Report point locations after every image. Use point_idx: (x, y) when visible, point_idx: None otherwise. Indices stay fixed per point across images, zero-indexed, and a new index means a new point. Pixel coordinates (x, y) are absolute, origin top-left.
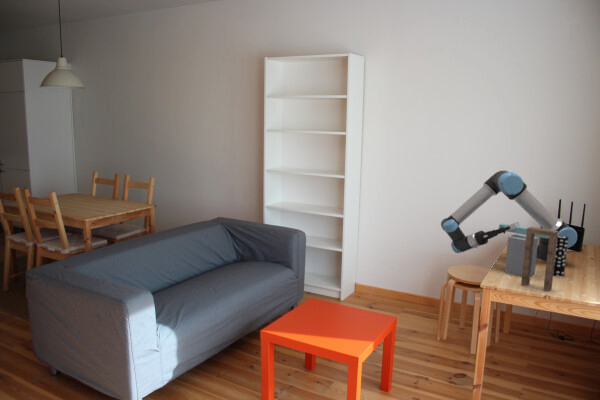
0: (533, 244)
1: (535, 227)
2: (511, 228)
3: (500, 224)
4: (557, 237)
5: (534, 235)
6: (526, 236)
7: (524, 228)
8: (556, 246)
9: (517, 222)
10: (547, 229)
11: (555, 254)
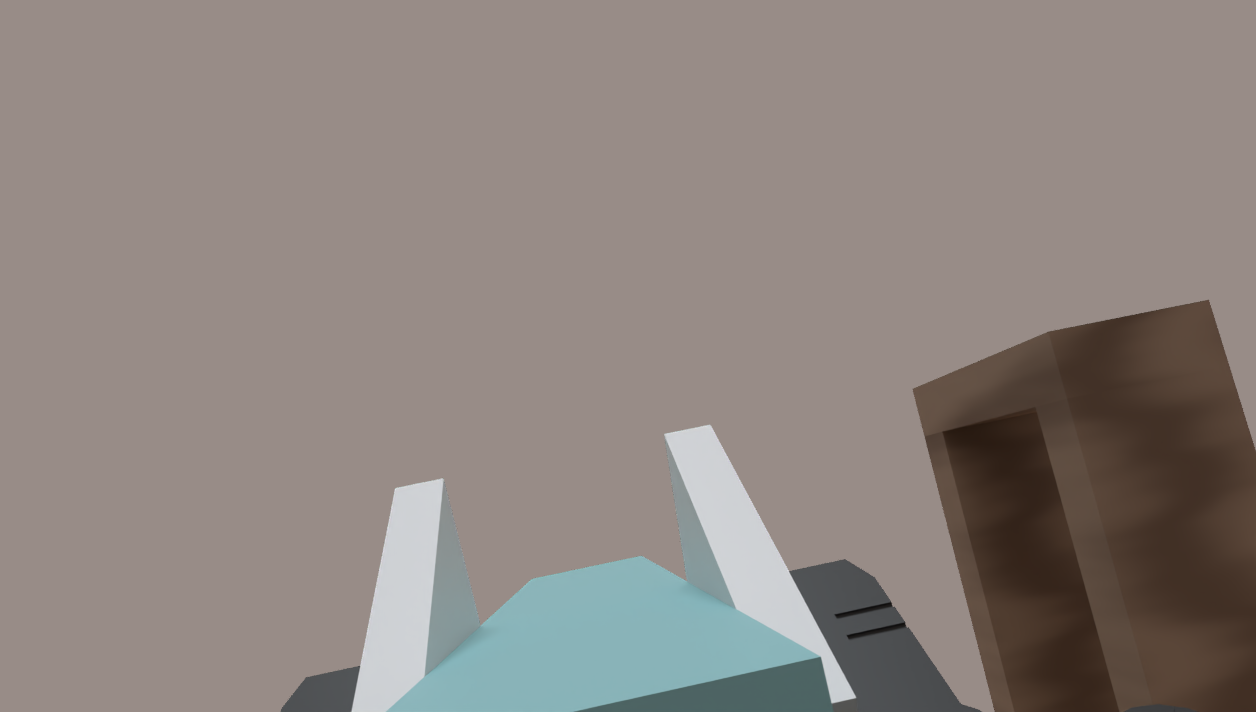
0: (1096, 612)
1: (1019, 344)
2: None
3: (760, 660)
4: (932, 459)
5: (1055, 466)
6: (1246, 433)
7: (649, 577)
8: (958, 564)
9: (445, 508)
10: (957, 370)
11: (986, 659)
